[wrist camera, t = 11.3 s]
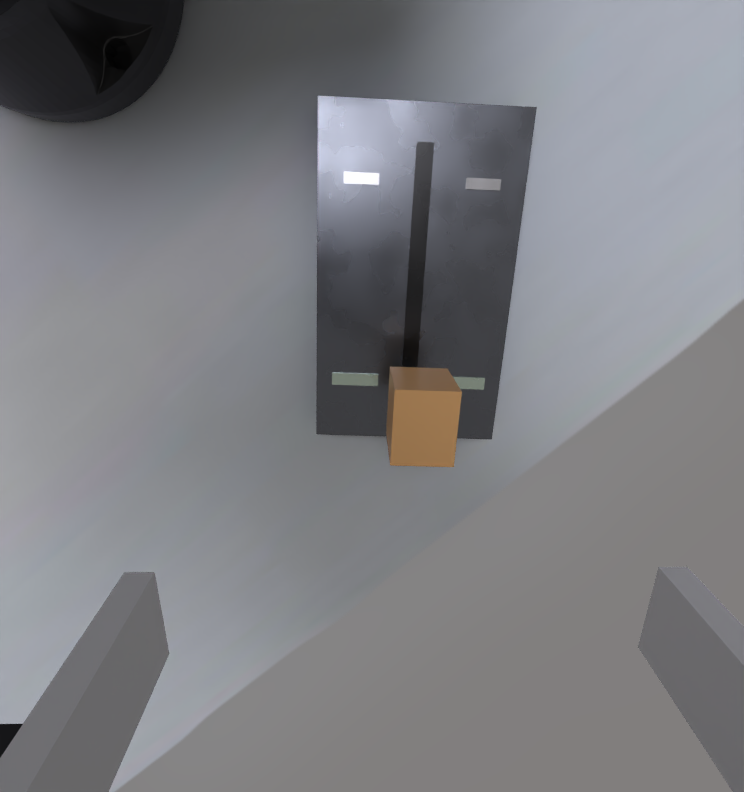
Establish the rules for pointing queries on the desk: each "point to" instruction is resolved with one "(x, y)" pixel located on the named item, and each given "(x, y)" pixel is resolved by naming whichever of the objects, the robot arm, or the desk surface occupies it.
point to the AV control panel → (415, 251)
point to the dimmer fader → (422, 417)
